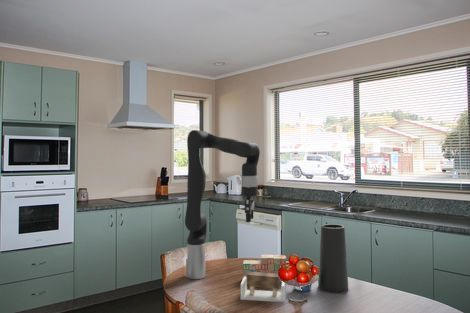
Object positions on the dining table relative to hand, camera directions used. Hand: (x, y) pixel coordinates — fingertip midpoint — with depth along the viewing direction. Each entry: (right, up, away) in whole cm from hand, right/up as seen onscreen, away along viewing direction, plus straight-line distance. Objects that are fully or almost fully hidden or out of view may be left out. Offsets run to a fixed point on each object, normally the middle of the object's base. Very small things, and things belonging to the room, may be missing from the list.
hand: (249, 220), depth 176 cm
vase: (+39, -32, +1) cm, 51 cm away
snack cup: (+25, -32, 0) cm, 40 cm away
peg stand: (+6, -32, -9) cm, 34 cm away
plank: (+6, -27, -9) cm, 29 cm away
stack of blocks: (+8, -32, +12) cm, 36 cm away
